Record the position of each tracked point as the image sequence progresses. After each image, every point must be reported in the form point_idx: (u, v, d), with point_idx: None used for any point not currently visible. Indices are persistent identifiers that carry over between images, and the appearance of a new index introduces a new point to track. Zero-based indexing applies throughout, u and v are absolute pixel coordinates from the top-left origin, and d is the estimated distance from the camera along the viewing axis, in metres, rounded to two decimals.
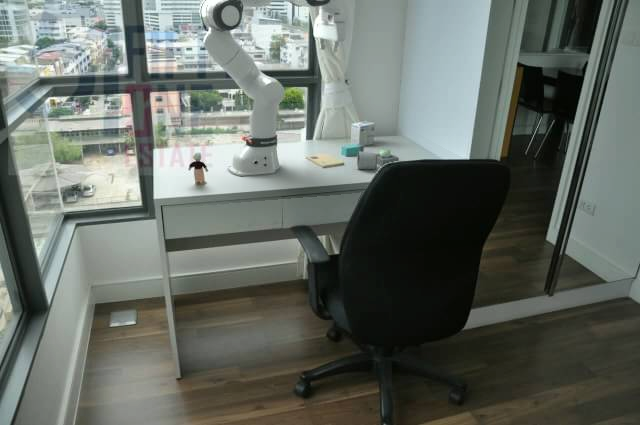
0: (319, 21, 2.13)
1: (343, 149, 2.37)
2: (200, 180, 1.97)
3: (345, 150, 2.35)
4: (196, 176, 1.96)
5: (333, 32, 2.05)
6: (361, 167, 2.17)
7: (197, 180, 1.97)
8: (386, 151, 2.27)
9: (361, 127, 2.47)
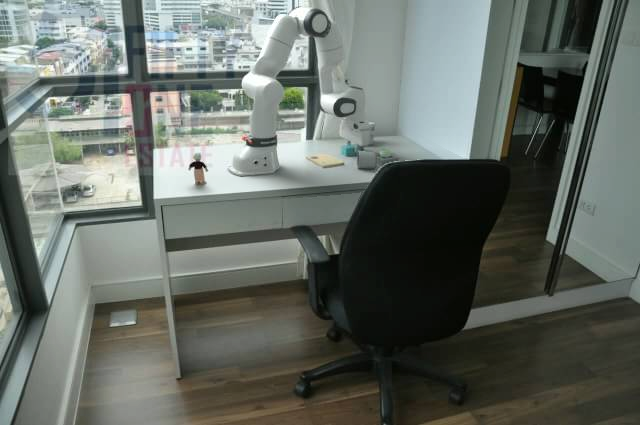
0: (345, 125, 2.38)
1: (343, 149, 2.37)
2: (200, 180, 1.97)
3: (345, 150, 2.35)
4: (196, 176, 1.96)
5: (358, 138, 2.30)
6: (361, 166, 2.18)
7: (197, 180, 1.97)
8: (386, 151, 2.27)
9: None
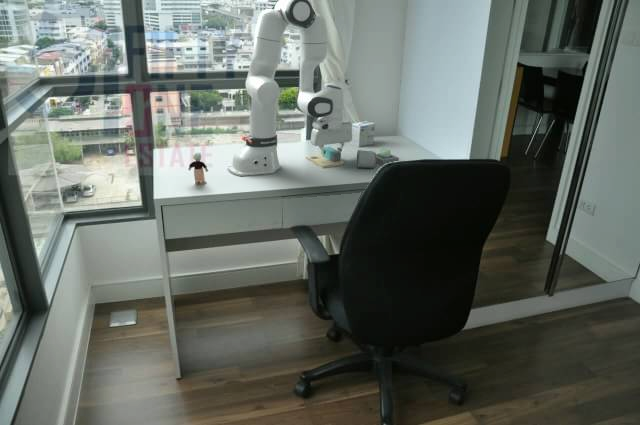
0: None
1: None
2: (200, 180, 1.97)
3: None
4: (196, 176, 1.96)
5: None
6: (360, 165, 2.19)
7: (197, 180, 1.97)
8: (386, 151, 2.27)
9: (361, 127, 2.47)
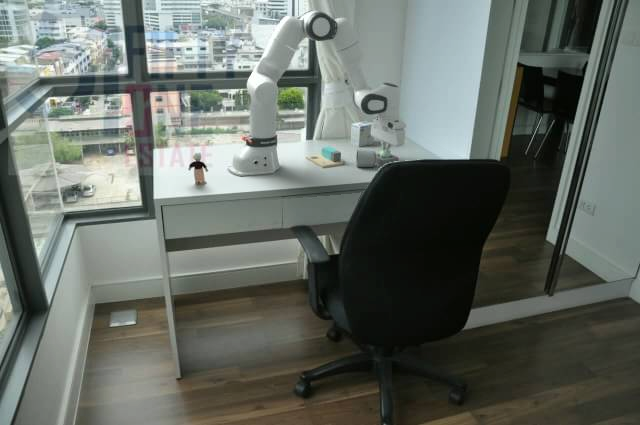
0: (377, 124, 2.26)
1: None
2: (200, 180, 1.97)
3: None
4: (196, 176, 1.96)
5: (392, 138, 2.18)
6: (360, 165, 2.20)
7: (197, 180, 1.97)
8: None
9: (361, 127, 2.47)
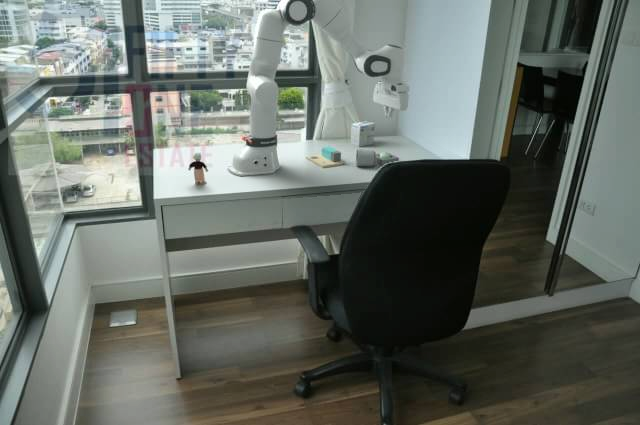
0: (380, 88, 2.19)
1: None
2: (200, 180, 1.97)
3: None
4: (196, 176, 1.96)
5: (396, 101, 2.12)
6: (359, 164, 2.21)
7: (197, 180, 1.97)
8: (386, 154, 2.27)
9: (361, 127, 2.47)
